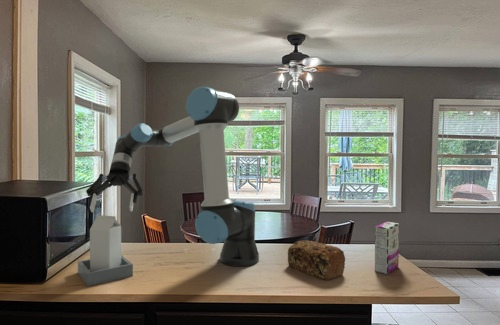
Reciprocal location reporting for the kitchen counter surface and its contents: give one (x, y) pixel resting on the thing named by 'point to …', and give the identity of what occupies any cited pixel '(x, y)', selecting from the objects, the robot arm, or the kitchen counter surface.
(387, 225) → the candy bar box
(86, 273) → the bin
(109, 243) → the milk carton
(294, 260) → the bread
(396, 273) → the kitchen counter surface
